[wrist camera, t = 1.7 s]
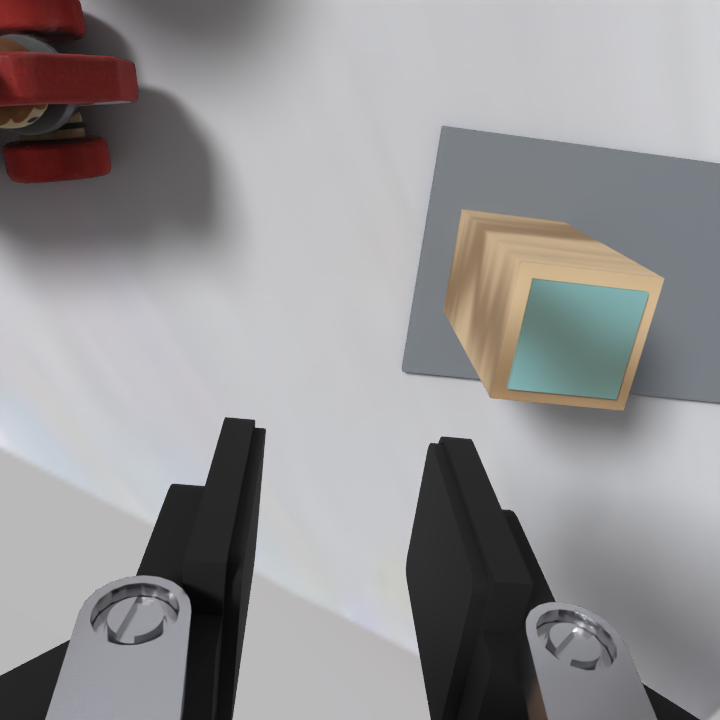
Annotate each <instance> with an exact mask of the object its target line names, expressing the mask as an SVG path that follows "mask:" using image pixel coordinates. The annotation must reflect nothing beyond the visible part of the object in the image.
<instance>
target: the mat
mask: <svg viewBox="0 0 720 720" xmlns="http://www.w3.org/2000/svg"><path fill="white" fill-rule="evenodd" d="M462 209H464V210H472V211H480V212H488V213H497V214H505V215H513V216H521V217H529V218H537V219H545V220H553V221H561V222H565V223H567V224H569V225H571V226H572V227H574V228H576V229H578V230H580V231H581V232H583V233H585V234H587V235H588V236H590V237H592V238H594V239H596V240H597V241H599V242H601V243H603V244H604V245H606V246H608V247H610V248H611V249H613V250H615V251H617V252H619V253H620V254H622V255H624V256H626V257H627V258H629V259H631V260H633V261H635V262H636V263H638V264H640V265H642V266H643V267H645V268H647V269H649V270H650V271H652V272H654V273H656V274H658V275H659V276H661V277H663V278H665V279H664V282H663V285H662V289H661V292H660V295H659V298H658V301H657V305H656V308H655V311H654V314H653V318H652V321H651V324H650V327H649V330H648V334H647V337H646V340H645V343H644V346H643V350H642V353H641V356H640V359H639V363H638V366H637V369H636V372H635V375H634V379H633V382H632V385H631V388H630V392H629V394H636V395H646V396H656V397H667V398H677V399H687V400H697V401H707V402H718V403H720V164H719V163H711V162H704V161H697V160H689V159H682V158H674V157H667V156H660V155H652V154H645V153H638V152H630V151H623V150H616V149H608V148H601V147H593V146H586V145H579V144H571V143H564V142H557V141H549V140H542V139H535V138H527V137H520V136H512V135H505V134H498V133H490V132H483V131H476V130H468V129H461V128H454V127H446V126H442V129H441V135H440V141H439V147H438V153H437V159H436V165H435V171H434V177H433V183H432V189H431V195H430V201H429V207H428V213H427V219H426V225H425V232H424V238H423V244H422V250H421V256H420V262H419V268H418V274H417V280H416V286H415V292H414V298H413V304H412V310H411V316H410V322H409V328H408V334H407V340H406V346H405V352H404V358H403V364H402V371H403V372H411V373H421V374H432V375H442V376H452V377H462V378H472V379H480V378H479V376H478V374H477V372H476V370H475V368H474V367H473V365H472V363H471V361H470V359H469V357H468V355H467V354H466V352H465V350H464V348H463V346H462V344H461V343H460V341H459V339H458V337H457V335H456V333H455V331H454V330H453V328H452V326H451V324H450V322H449V320H448V318H447V317H446V315H445V313H444V311H443V308H444V303H445V297H446V292H447V286H448V281H449V276H450V270H451V265H452V259H453V254H454V248H455V243H456V238H457V232H458V227H459V221H460V216H461V211H462Z"/></svg>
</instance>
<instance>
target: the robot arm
mask: <svg viewBox="0 0 720 720" xmlns="http://www.w3.org/2000/svg"><path fill="white" fill-rule="evenodd" d="M265 434H266V429H264V428H255V420H250V419H238V418H227V417H225V419H224V422H223V426H222V429H221V433H220V436H219V440H218V443H217V446H216V450H215V453H214V457H213V460H212V464H211V467H210V471H209V474H208V478H207V481H206V484H205V486H195V485H183V484H172V485H171V486H170V488H169V490H168V493H167V495H166V498H165V500H164V503H163V506H162V508H161V511H160V514H159V516H158V519H157V522H156V524H155V527H154V530H153V532H152V535H151V538H150V540H149V543H148V546H147V548H146V551H145V554H144V556H143V559H142V562H141V564H140V567H139V569H138V572H137V575H136V576H133V577H125V578H122V579H119V580H116V581H113V582H110V583H109V584H106V585H105V586H103V587H101V588H100V589H98V590H96V591H95V592H94V593H93V594H92V595H91V596H90V597H89V598H88V599H87V600H86V601H85V602H84V604H83V606H82V608H81V610H80V611H79V614H78V617H77V620H76V624H75V626H74V629H73V633H72V636H71V639H70V640H69V641H67V642H65V643H63V644H61V645H59V646H57V647H55V648H53V649H51V650H49V651H47V652H45V653H43V654H42V655H40V656H38V657H36V658H34V659H32V660H30V661H28V662H26V663H24V664H22V665H20V666H18V667H16V668H14V669H13V670H11V671H9V672H7V673H5V674H3V675H1V676H0V720H232V718H233V711H234V704H235V697H236V690H237V682H238V676H239V668H240V660H241V654H242V647H243V639H244V632H245V625H246V618H247V611H248V604H249V597H250V590H251V583H252V576H253V568H254V560H255V551H256V539H257V528H258V516H259V504H260V493H261V481H262V469H263V457H264V446H265ZM406 578H407V584H408V590H409V596H410V601H411V607H412V613H413V619H414V625H415V630H416V636H417V642H418V648H419V654H420V659H421V665H422V671H423V676H424V682H425V688H426V694H427V700H428V705H429V711H430V717H431V720H699V719H698V718H696V717H695V716H693V715H692V714H690V713H688V712H687V711H685V710H684V709H682V708H680V707H679V706H677V705H676V704H674V703H673V702H671V701H669V700H668V699H666V698H665V697H663V696H661V695H660V694H658V693H657V692H655V691H654V690H652V689H650V688H649V687H647V686H646V685H644V684H643V683H642V682H641V679H640V677H639V675H638V672H637V670H636V668H635V665H634V663H633V660H632V658H631V656H630V653H629V651H628V649H627V646H626V644H625V643H624V641H623V639H622V638H621V636H620V634H619V633H618V632H617V631H616V630H615V629H614V628H613V627H612V626H611V625H610V624H609V623H608V622H607V621H606V620H604V619H603V618H601V617H600V616H598V615H597V614H595V613H594V612H591V611H589V610H587V609H585V608H582V607H580V606H577V605H573V604H568V603H564V602H556V601H555V599H554V597H553V595H552V593H551V590H550V588H549V586H548V584H547V582H546V579H545V577H544V575H543V573H542V571H541V568H540V566H539V564H538V562H537V560H536V557H535V555H534V553H533V551H532V549H531V546H530V544H529V542H528V540H527V538H526V535H525V533H524V531H523V529H522V527H521V524H520V522H519V520H518V518H517V516H516V514H515V513H514V512H513V511H511V510H502V509H501V507H500V504H499V502H498V500H497V497H496V495H495V493H494V490H493V488H492V486H491V483H490V481H489V479H488V476H487V474H486V471H485V469H484V467H483V464H482V462H481V460H480V457H479V455H478V453H477V450H476V448H475V446H474V443H473V441H472V440H471V439H464V438H453V437H441V438H440V440H439V443H438V444H435V443H430V445H429V447H428V451H427V456H426V461H425V467H424V472H423V477H422V482H421V487H420V493H419V498H418V503H417V508H416V514H415V519H414V524H413V529H412V534H411V540H410V545H409V550H408V555H407V562H406Z"/></svg>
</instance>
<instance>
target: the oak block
mask: <svg viewBox="0 0 720 720" xmlns="http://www.w3.org/2000/svg"><path fill="white" fill-rule="evenodd" d="M664 279H665V278H663V277H661V276H659V275H658V274H656V273H654V272H652V271H650V270H649V269H647V268H645V267H643V266H642V265H640V264H638V263H636V262H635V261H633V260H631V259H629V258H627V257H626V256H624V255H622V254H620V253H619V252H617V251H615V250H613V249H611V248H610V247H608V246H606V245H604V244H603V243H601V242H599V241H597V240H596V239H594V238H592V237H590V236H588V235H587V234H585V233H583V232H581V231H580V230H578V229H576V228H574V227H572V226H571V225H569V224H567V223H565V222H561V221H553V220H545V219H537V218H529V217H521V216H513V215H505V214H497V213H488V212H480V211H472V210H464V209H462V211H461V216H460V221H459V227H458V232H457V238H456V243H455V248H454V254H453V259H452V265H451V270H450V276H449V281H448V286H447V292H446V297H445V303H444V308H443V311H444V313H445V315H446V317H447V318H448V320H449V322H450V324H451V326H452V328H453V330H454V331H455V333H456V335H457V337H458V339H459V341H460V343H461V344H462V346H463V348H464V350H465V352H466V354H467V355H468V357H469V359H470V361H471V363H472V365H473V367H474V368H475V370H476V372H477V374H478V376H479V378H480V380H481V381H482V383H483V385H484V387H485V389H486V391H487V392H488V394H489V396H490V398H495V399H506V400H516V401H527V402H537V403H548V404H558V405H569V406H580V407H590V408H601V409H611V410H622V411H624V408H625V404H626V401H627V398H628V395H629V392H630V388H631V385H632V382H633V379H634V375H635V372H636V369H637V366H638V363H639V359H640V356H641V353H642V350H643V346H644V343H645V340H646V337H647V334H648V330H649V327H650V324H651V321H652V318H653V314H654V311H655V308H656V305H657V301H658V298H659V295H660V292H661V289H662V285H663V282H664Z"/></svg>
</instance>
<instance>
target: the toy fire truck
mask: <svg viewBox="0 0 720 720" xmlns="http://www.w3.org/2000/svg"><path fill="white" fill-rule="evenodd" d="M85 31H86V28H85V23H84V18H83V13H82V8H81V4H80V1H79V0H0V128H5V129H7V130H9V131H12V132H14V133H18V134H20V137H21V140H20V141H16V142H10V143H7V144H6V145H5V146H3V151H2V153H3V157H4V160H5V165H6V170H7V173H8V176H9V177H10V179H11V180H12V181H14V182H19V183H42V182H56V181H68V180H77V179H85V178H92V177H97V176H102V175H105V174H108V173H109V172H110V170H111V162H110V156H109V151H108V146H107V143H106V141H105V139H103V138H101V137H99V136H86V135H85V131H84V127H85V123H84V122H83V120H82V116H81V113H80V112H79V111H78V109H77V107H78V106H91V105H104V104H120V103H130V102H135V101H137V99H138V85H137V77H136V69H135V64H134V63H133V62H132V61H128V60H123V59H120V58H116V57H112V56H102V55H82V54H61V53H58V52H57V51H56V50H55V49H54V48H53V47H52V46H50V45H49V44H48V42H61V41H69V40H76V39H80V38H82V37H83V36H84V34H85Z"/></svg>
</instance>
